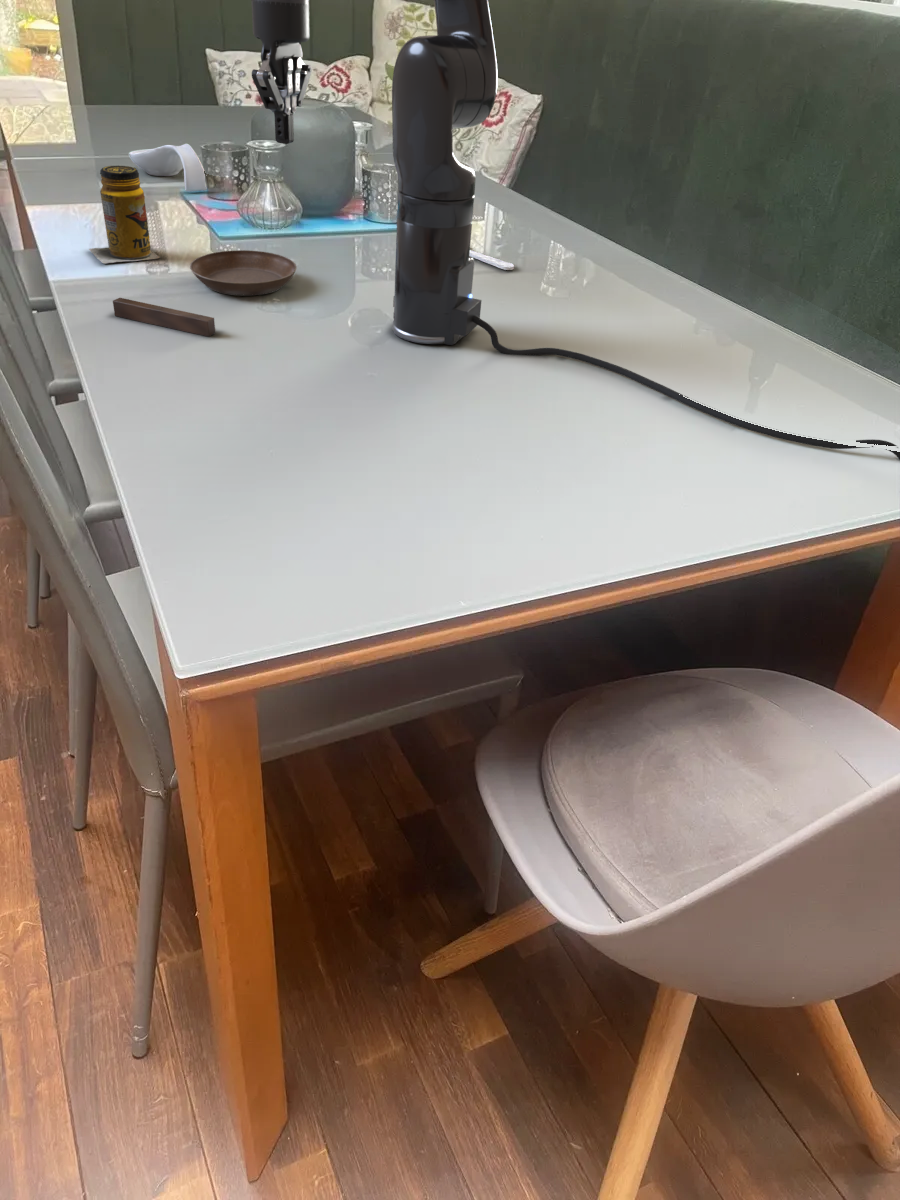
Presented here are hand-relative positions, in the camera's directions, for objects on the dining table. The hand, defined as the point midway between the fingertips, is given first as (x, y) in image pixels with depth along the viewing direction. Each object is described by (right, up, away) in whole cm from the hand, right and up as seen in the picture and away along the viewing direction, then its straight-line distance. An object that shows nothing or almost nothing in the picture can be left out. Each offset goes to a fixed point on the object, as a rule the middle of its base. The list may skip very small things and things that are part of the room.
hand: (284, 142), depth 128 cm
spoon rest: (-31, +17, +48) cm, 59 cm away
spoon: (+27, -9, +20) cm, 35 cm away
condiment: (-26, -14, +7) cm, 30 cm away
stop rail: (-13, -31, -15) cm, 36 cm away
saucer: (-6, -21, 0) cm, 21 cm away
